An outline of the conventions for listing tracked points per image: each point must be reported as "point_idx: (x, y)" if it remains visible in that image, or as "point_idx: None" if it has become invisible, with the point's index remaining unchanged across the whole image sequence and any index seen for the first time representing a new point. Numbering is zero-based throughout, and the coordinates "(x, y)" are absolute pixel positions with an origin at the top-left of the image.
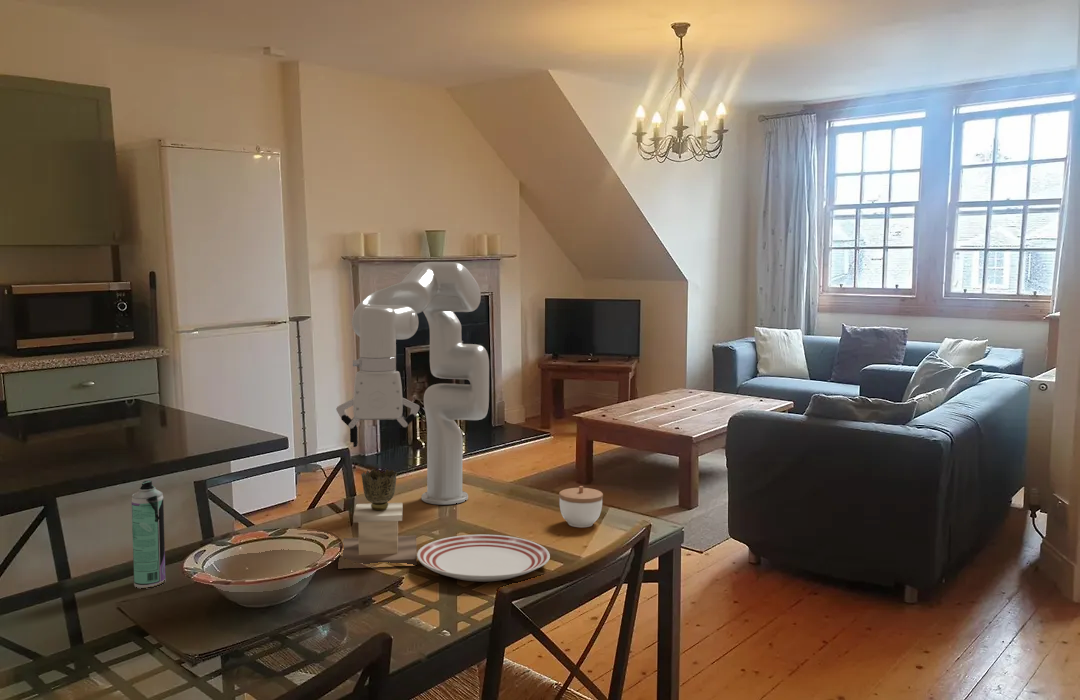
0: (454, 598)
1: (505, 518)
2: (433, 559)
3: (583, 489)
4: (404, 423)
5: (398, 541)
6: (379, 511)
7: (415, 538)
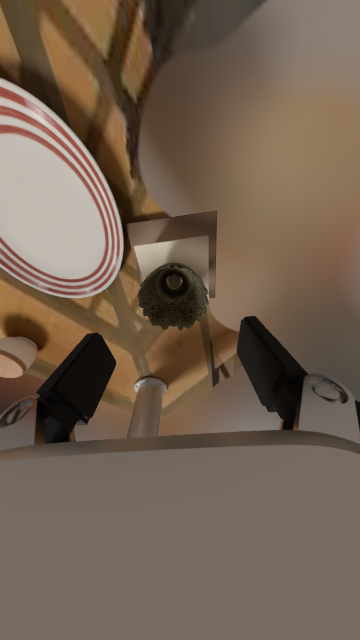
0: (17, 39)
1: None
2: (105, 223)
3: (1, 373)
4: (15, 420)
5: None
6: None
7: None
